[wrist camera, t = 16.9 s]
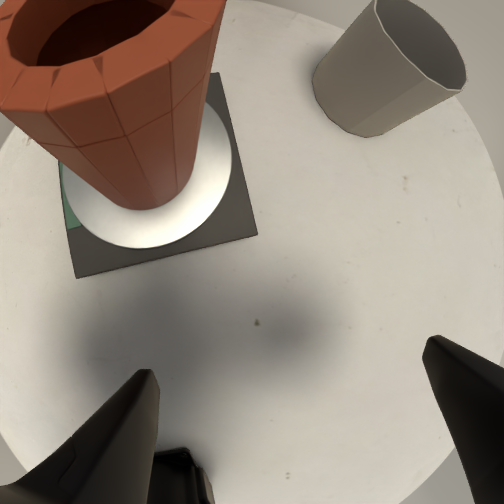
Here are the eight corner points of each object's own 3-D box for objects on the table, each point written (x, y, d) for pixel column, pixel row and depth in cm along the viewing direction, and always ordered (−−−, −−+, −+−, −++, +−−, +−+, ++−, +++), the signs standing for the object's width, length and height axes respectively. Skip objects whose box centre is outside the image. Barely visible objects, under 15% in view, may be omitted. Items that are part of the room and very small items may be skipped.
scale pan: (80, 267, 16) (76, 267, 15) (62, 112, 15) (59, 107, 15) (247, 227, 18) (250, 225, 17) (212, 77, 18) (213, 71, 17)
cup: (346, 47, 23) (403, -13, 13) (404, 108, 24) (476, 67, 15) (293, 82, 22) (351, 6, 12) (362, 155, 23) (448, 112, 13)
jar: (202, 200, 17) (249, 75, 5) (99, 219, 15) (-49, 153, 3) (187, 106, 17) (211, -71, 4) (92, 124, 15) (9, -24, 3)
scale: (87, 276, 18) (74, 279, 16) (66, 122, 18) (55, 108, 15) (250, 237, 21) (259, 234, 18) (215, 88, 20) (219, 70, 18)
